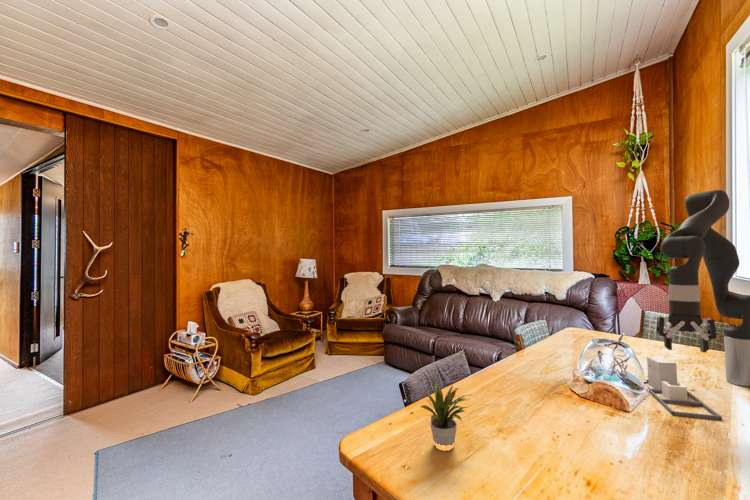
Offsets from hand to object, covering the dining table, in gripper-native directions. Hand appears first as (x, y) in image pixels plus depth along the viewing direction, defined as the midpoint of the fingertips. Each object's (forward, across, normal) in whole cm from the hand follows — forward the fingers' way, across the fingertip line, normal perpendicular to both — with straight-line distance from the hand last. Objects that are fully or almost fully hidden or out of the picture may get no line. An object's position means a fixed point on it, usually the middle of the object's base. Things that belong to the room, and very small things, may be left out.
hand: (685, 350), depth 111 cm
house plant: (+22, +67, +46) cm, 84 cm away
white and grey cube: (+19, 0, -11) cm, 22 cm away
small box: (+19, 0, -21) cm, 28 cm away
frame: (+19, 0, -11) cm, 22 cm away
